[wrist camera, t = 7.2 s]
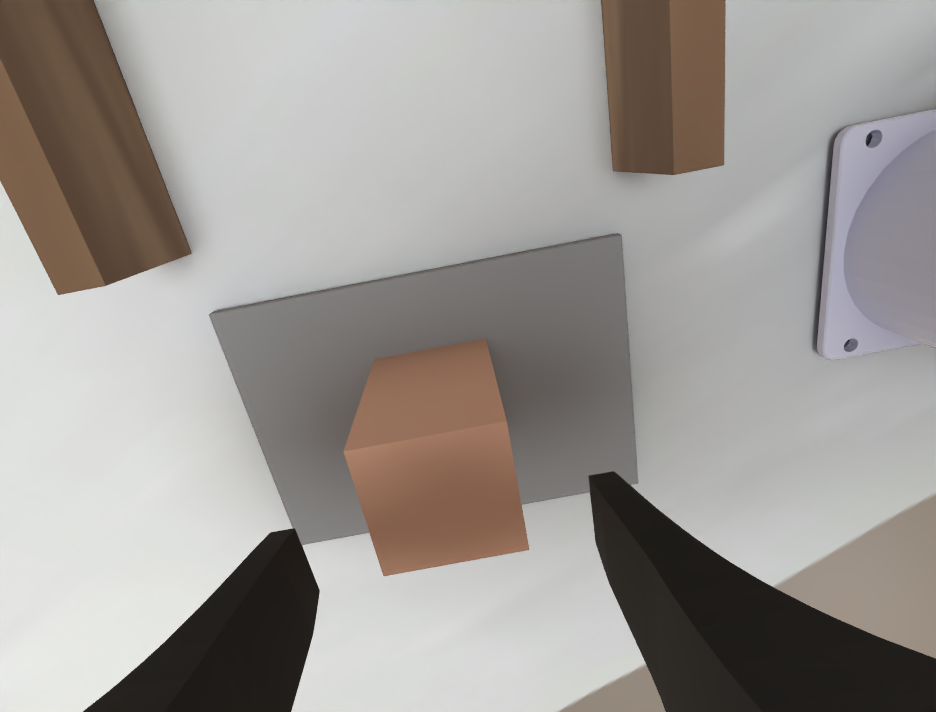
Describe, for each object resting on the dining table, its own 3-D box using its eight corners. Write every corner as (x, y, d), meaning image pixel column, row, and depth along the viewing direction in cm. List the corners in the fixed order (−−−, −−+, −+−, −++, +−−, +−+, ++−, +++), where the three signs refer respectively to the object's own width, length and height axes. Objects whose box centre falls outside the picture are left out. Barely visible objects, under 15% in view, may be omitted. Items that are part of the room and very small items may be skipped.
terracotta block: (485, 338, 18) (506, 421, 12) (503, 435, 19) (529, 549, 13) (374, 359, 18) (343, 451, 12) (400, 454, 19) (383, 576, 13)
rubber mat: (617, 233, 17) (621, 235, 16) (634, 477, 20) (638, 483, 20) (213, 311, 17) (208, 314, 17) (302, 538, 21) (299, 545, 20)
